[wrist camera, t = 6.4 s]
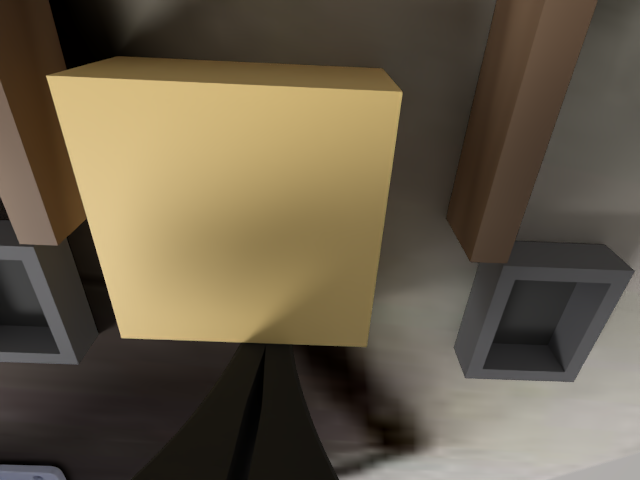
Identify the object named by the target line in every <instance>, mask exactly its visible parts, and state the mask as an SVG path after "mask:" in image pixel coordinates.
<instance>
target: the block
mask: <svg viewBox="0 0 640 480" xmlns="http://www.w3.org/2000/svg"><path fill="white" fill-rule="evenodd" d="M46 77H47V81H48V84H49V88H50V91H51V95H52V98H53V102H54V105H55V109H56V112H57V115H58V119H59V122H60V126H61V129H62V133H63V136H64V140H65V143H66V147H67V150H68V154H69V157H70V161H71V164H72V168H73V171H74V175H75V178H76V182H77V185H78V188H79V192H80V195H81V199H82V202H83V206H84V209H85V213H86V216H87V220H88V223H89V227H90V230H91V234H92V237H93V241H94V244H95V248H96V251H97V255H98V258H99V261H100V265H101V268H102V272H103V275H104V279H105V282H106V286H107V289H108V293H109V296H110V300H111V303H112V307H113V310H114V314H115V317H116V321H117V324H118V328H119V331H120V334H121V338H134V339H161V340H188V341H216V342H243V343H271V344H298V345H326V346H353V347H367V342H368V335H369V328H370V321H371V314H372V307H373V300H374V292H375V285H376V278H377V271H378V264H379V257H380V250H381V243H382V236H383V229H384V221H385V214H386V207H387V200H388V193H389V186H390V179H391V172H392V165H393V158H394V150H395V143H396V136H397V129H398V122H399V115H400V108H401V101H402V94H403V92H402V90H401V89H400V88H399V87H398V86H397V85H396V83H395V82H394V81H393V80H392V79H391V78H390V77H389V75H388V74H387V73H386V72H385V71H384V70H383V68H362V67H341V66H319V65H298V64H276V63H255V62H233V61H212V60H190V59H169V58H147V57H125V56H116V57H113V58H109V59H105V60H102V61H98V62H94V63H90V64H87V65H83V66H79V67H76V68H72V69H68V70H65V71H61V72H57V73H54V74H50V75H46Z"/></svg>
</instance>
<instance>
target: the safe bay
mask: <svg viewBox="0 0 640 480" xmlns="http://www.w3.org/2000/svg"><path fill="white" fill-rule="evenodd" d="M597 1H598V0H497V2H496V6H495V10H494V14H493V19H492V23H491V27H490V32H489V36H488V40H487V45H486V49H485V53H484V57H483V62H482V66H481V70H480V75H479V79H478V83H477V87H476V92H475V96H474V100H473V105H472V109H471V113H470V118H469V122H468V126H467V130H466V135H465V139H464V143H463V148H462V152H461V156H460V160H459V165H458V169H457V173H456V178H455V182H454V186H453V191H452V195H451V199H450V203H449V208H448V212H447V216H446V219H447V221H448V223H449V224H450V226H451V228H452V230H453V232H454V233H455V235H456V237H457V239H458V241H459V243H460V244H461V246H462V248H463V250H464V252H465V253H466V255H467V257H468V259H469V261H470V262H482V263H507V262H508V259H509V257H510V254H511V251H512V248H513V245H514V242H515V239H516V236H517V233H518V230H519V228H520V225H521V222H522V219H523V216H524V213H525V210H526V207H527V204H528V201H529V199H530V196H531V193H532V190H533V187H534V184H535V181H536V178H537V175H538V172H539V170H540V167H541V164H542V161H543V158H544V155H545V152H546V149H547V146H548V144H549V141H550V138H551V135H552V132H553V129H554V126H555V123H556V120H557V117H558V115H559V112H560V109H561V106H562V103H563V100H564V97H565V94H566V91H567V88H568V86H569V83H570V80H571V77H572V74H573V71H574V68H575V65H576V62H577V59H578V57H579V54H580V51H581V48H582V45H583V42H584V39H585V36H586V33H587V30H588V28H589V25H590V22H591V19H592V16H593V13H594V10H595V7H596V4H597ZM65 70H67V68H66V65H65V61H64V57H63V53H62V50H61V46H60V42H59V38H58V34H57V31H56V27H55V23H54V19H53V15H52V12H51V8H50V4H49V0H0V197H1V199H2V202H3V204H4V207H5V209H6V212H7V214H8V216H9V219H10V221H11V224H12V226H13V229H14V231H15V234H16V236H17V239H18V241H19V244H31V245H56V246H58V245H59V244H60V243H61V242H62V241H63V240H64V239H65V238H66V237H68V236H69V235H70V234H71V233H72V232H73V231H74V230H75V229H76V228H77V227H78V226H79V225H80V224H81V223H82V222H83V221H85V220H86V219H87V216H86V213H85V209H84V206H83V202H82V199H81V195H80V192H79V188H78V185H77V182H76V178H75V175H74V171H73V168H72V164H71V161H70V157H69V154H68V150H67V147H66V143H65V140H64V136H63V133H62V129H61V126H60V122H59V119H58V115H57V112H56V109H55V105H54V102H53V98H52V95H51V91H50V88H49V84H48V81H47V77H46V75H50V74H54V73H57V72H61V71H65Z"/></svg>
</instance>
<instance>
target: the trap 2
mask: <svg viewBox="0 0 640 480" xmlns="http://www.w3.org/2000/svg"><path fill="white" fill-rule="evenodd" d="M633 273H634V270H633V269H632V268H631V267H630V266H628V265H627V264H626V263H625V262H624V261H623V260H622V259H621V258H619V257H618V256H617V255H616V254H615V253H614V252H613V251H612V250H610V249H609V248H608V247H607V246H606V245H598V244H574V243H549V242H525V241H515V242H514V245H513V248H512V251H511V254H510V257H509V259H508V262H507V263H482V262H479V266H478V269H477V272H476V276H475V279H474V282H473V286H472V289H471V292H470V296H469V299H468V302H467V305H466V309H465V312H464V315H463V319H462V322H461V325H460V329H459V332H458V335H457V339H456V342H455V345H454V349H455V352H456V355H457V357H458V360H459V363H460V365H461V368H462V371H463V373H464V376H465V378H476V379H504V380H532V381H561V382H574V380H575V378H576V377H577V375H578V373H579V371H580V369H581V368H582V366H583V364H584V362H585V360H586V358H587V357H588V355H589V353H590V351H591V349H592V348H593V346H594V344H595V342H596V340H597V339H598V337H599V335H600V333H601V331H602V329H603V328H604V326H605V324H606V322H607V320H608V319H609V317H610V315H611V313H612V311H613V310H614V308H615V306H616V304H617V302H618V300H619V299H620V297H621V295H622V293H623V291H624V290H625V288H626V286H627V284H628V282H629V280H630V279H631V277H632V275H633Z"/></svg>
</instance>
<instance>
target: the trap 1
mask: <svg viewBox="0 0 640 480" xmlns="http://www.w3.org/2000/svg"><path fill="white" fill-rule="evenodd" d="M98 335H99V334H98V331H97V328H96V325H95V322H94V319H93V316H92V313H91V310H90V307H89V304H88V301H87V298H86V295H85V292H84V289H83V286H82V283H81V280H80V277H79V274H78V271H77V268H76V265H75V262H74V259H73V256H72V253H71V250H70V247H69V244H68V241H67V238H65V239H64V240H63V241H62V242H61V243H60V244H59V245H58V246H56V245H31V244H19V241H18V239H17V236H16V234H15V231H14V229H13V226H12V224H11V221H10V220H0V362H22V363H51V364H79V363H80V362H81V360H82V359H83V357H84V356H85V354H86V353H87V351H88V350H89V348H90V347H91V345H92V344H93V342H94V341H95V339H96V338H97V336H98Z"/></svg>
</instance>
